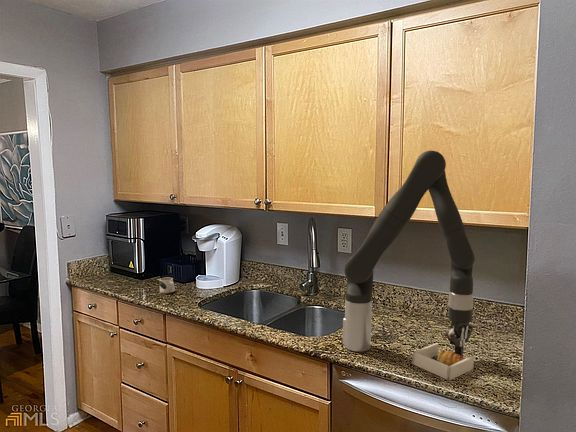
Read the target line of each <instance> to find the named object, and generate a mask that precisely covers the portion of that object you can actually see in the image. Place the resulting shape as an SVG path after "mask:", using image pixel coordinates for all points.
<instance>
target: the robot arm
mask: <svg viewBox="0 0 576 432" xmlns="http://www.w3.org/2000/svg"><path fill="white" fill-rule="evenodd" d="M446 167H447V163H446V159H445V157H444V156H443V154H442V153H440V152H439V151H436V150H426V151H424V152H421V154H420V155H418V157H417V159H416V161H415V162H414V165H413V167H412V169H411V171H410V173H409V174H408V176H407V178H406V180H405V181H404V183H402V185H401V186H400V187H399V189H397V191H396V192H395V193H394V194H393V196H392V197H391V198H390V199H389V200H388V202H387V203H386V204H385V205H384V207H383V209H381V212H380V213H379V214H378V216H377V217H376V219H375V221H374V222H373V224H372V226H371V228H370V230H369V232H368V234H367V236H366V237H365V239H364V241H363V243H362V244H361V246H360V247H358V249H357V250H356V251H355V253H354V254H353V255H351V256H350V257H349V258H348V259H347V261H346V263H345V265H344V275H345V278H346V288H345V294H344V295H345V296H344V298H345V300H344V304H345V305H344V318H343V319H342V345H344V347H345V349H348V350H349V351H353V352H366V351H369V350H370V349H371V345H372V342H371V341H372V311H373V310H372V309H373V308H372V307H373V306H372V303H373V301H372V300H373V292H374V291H373V290H374V289H373V288H374V286H373V285H374V269H375V267H376V265H377V264H378V262H379V260H380V258H381V257H382V256H383V254H384V253H385V252H386V250H387V249H388V248H389V247H390V246H391V245H392V244H393V243H394V241H395V240H396V239H397V238H398V237H399V235H401V233H402V232H403V230H404V229H405V227H406V226H407V225H408V223H409V222H410V220H411V219H412V217H413V215H414V213H415V212H416V211H417V208H418V206H419V205H420V203H421V200H422V199H423V197H424V196H425V194H426V193H427V192H429V195H430V197H431V202H432V204H433V208H434V211H435V215H436V218H437V221H438V222H437V223H438V224H439V228H440V232H441V234H442V236H443V237H444V240H445V242H446V243H445V244H446V247H447V250H448V255H449V257H450V273H451V274H450V281H449V295H448V304H447V305H448V307H447V308H448V309H447V311H448V312H447V318H448V319H449V320H450V326H449V329H450V330H449V331H446V332H445V337H446V338H447V340H448V341H449V343H450V345H452V346H454V352H455V354H458V355H460V356H462V357H464V347H465V345H466V343H468V342H469V339H470V337H471V335H472V332H473V330H474V326H473V325H471V324H470V323H471V322H472V321H473V318H474V317H473V316H474V314H473V312H474V294H473V293H474V279H473V278H474V277H473V265H474V264H475V254H474V251H473V248H472V247H471V243H470V242H469V241H470V240H469V239H468V236H467V233H466V229H465V225H464V223H463V220H462V217H461V214H460V211H459V209H458V207H457V204H456V202H455V200H454V197H453V195H452V193H451V191H450V187H449V183H448V180H447V174H446Z"/></svg>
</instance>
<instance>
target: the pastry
mask: <svg viewBox="0 0 576 432" xmlns="http://www.w3.org/2000/svg"><path fill="white" fill-rule="evenodd" d="M464 359H466V358H465V357H464V356H460V355H458V354H455V351H450V350H444V349H440V350H439V351H438V355H437V359H436V361H438V362H440V363H443V364H445V365H448V366H451V365H453V364H455V363H457V362H459V361H462V360H464Z"/></svg>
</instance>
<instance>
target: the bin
mask: <svg viewBox="0 0 576 432" xmlns="http://www.w3.org/2000/svg"><path fill="white" fill-rule="evenodd" d="M439 350H440V349H439V343H438V342H436V343H433V344H430V345H426V346H425V347H422V348H419V349H418V350H415V351H412V360H411V362H412V363H411V364H412V365H414V366H416V367H419V368H420V369H422V370H425V371H427V372H430V373H431V374H434V375H436V376H438V377H441V378H443V379H446V380H447V381H452V380H453V379H456V378H457V377H459V376H462V375H463V374H465V373H468V372H470V371H472V370H474V363H475V361H474V359H475V356H472V355H471V356H468V357H466V358H465V359H464V360H462V361H459V362H457V363H455V364H453V365H451V366H448V365H445V364H443V363H440V362H438V361H437V359H436V360H435V359H433V358H434V357H438V355H439Z"/></svg>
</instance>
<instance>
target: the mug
mask: <svg viewBox="0 0 576 432" xmlns="http://www.w3.org/2000/svg"><path fill="white" fill-rule="evenodd" d="M158 282H159V293H160V294H171V293H174V292H175V290H176V288H175V287H176V286H175V283H174V278H173V277H170V276H169V277H167V276H166V277H161V278H159V281H158Z"/></svg>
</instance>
